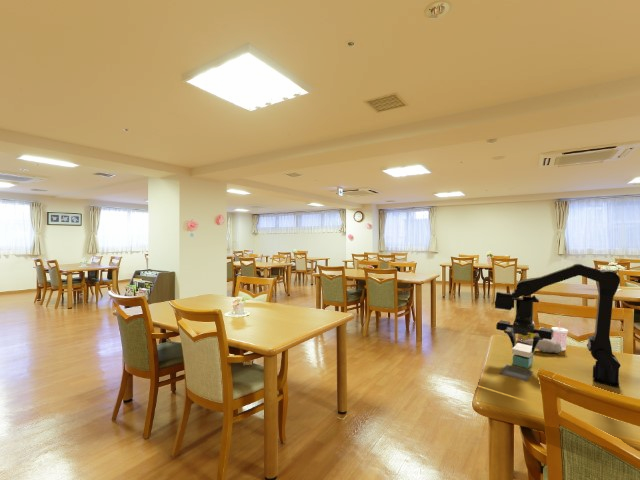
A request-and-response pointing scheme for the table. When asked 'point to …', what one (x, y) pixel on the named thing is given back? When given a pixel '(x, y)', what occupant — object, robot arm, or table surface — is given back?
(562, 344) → the beverage cup
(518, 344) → the lid
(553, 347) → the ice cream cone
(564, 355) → the table surface
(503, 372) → the mat
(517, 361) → the teal open box
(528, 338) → the supplement bottle
